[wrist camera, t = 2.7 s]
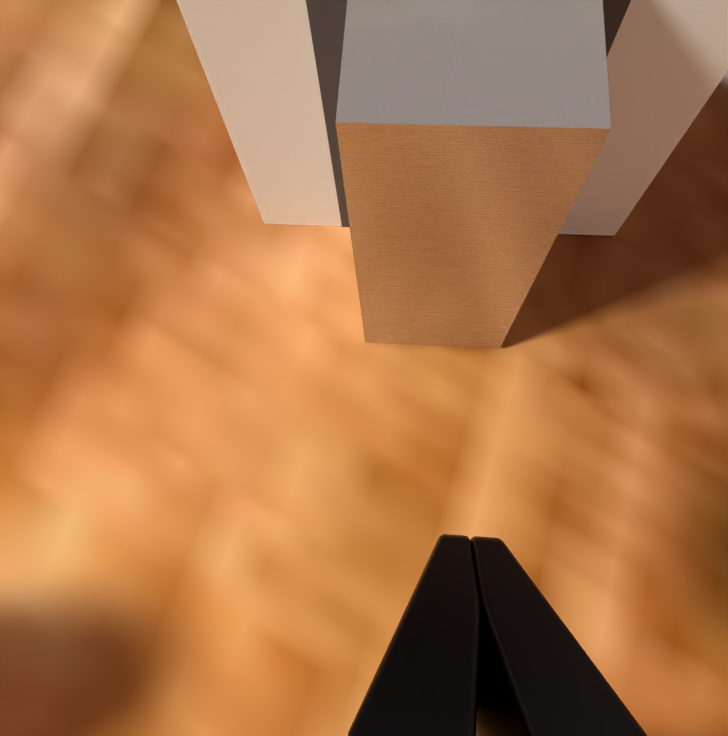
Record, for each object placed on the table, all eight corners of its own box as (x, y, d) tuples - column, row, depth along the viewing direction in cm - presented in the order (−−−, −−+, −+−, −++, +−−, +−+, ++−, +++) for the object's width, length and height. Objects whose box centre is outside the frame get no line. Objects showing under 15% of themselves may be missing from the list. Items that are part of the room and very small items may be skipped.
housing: (614, 235, 24) (929, -224, 10) (264, 223, 25) (93, -212, 11) (606, 110, 25) (863, -432, 11) (280, 103, 26) (151, -406, 12)
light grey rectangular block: (499, 348, 22) (610, 128, 11) (365, 342, 23) (335, 122, 11) (499, 124, 25) (586, -235, 14) (381, 121, 26) (369, -232, 14)
